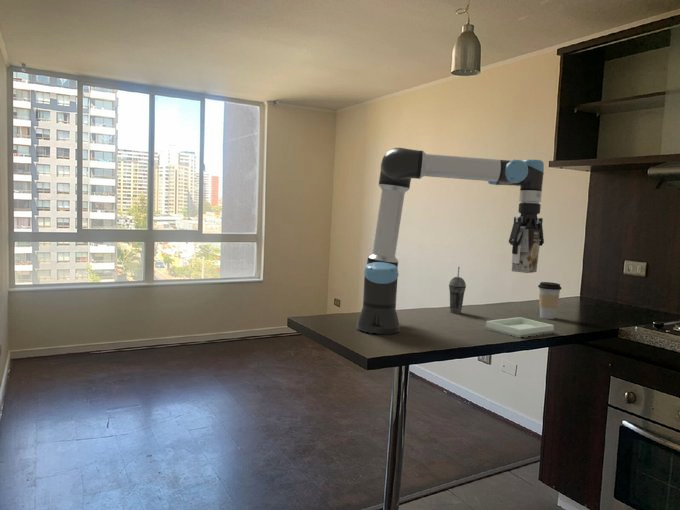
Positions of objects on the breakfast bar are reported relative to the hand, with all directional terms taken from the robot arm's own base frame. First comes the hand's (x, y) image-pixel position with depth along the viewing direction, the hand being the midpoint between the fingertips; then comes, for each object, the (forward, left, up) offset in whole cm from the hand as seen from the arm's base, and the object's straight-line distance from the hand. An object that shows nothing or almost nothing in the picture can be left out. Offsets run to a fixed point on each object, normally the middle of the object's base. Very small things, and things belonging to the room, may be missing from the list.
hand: (524, 262), depth 190 cm
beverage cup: (+3, +35, -26) cm, 44 cm away
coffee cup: (+35, +12, -26) cm, 45 cm away
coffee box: (0, 0, -3) cm, 3 cm away
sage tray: (0, 0, -26) cm, 26 cm away
